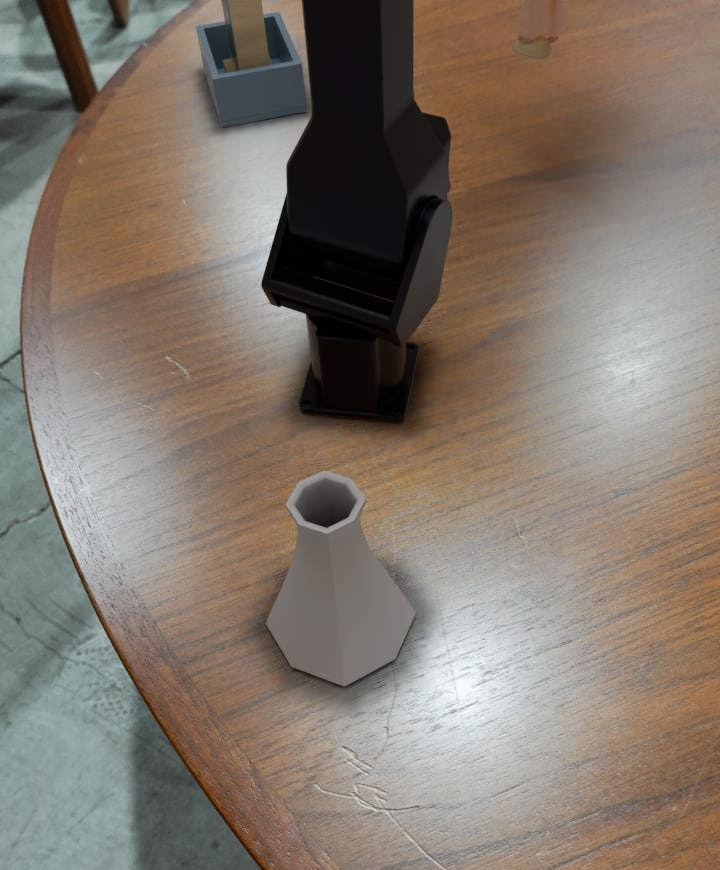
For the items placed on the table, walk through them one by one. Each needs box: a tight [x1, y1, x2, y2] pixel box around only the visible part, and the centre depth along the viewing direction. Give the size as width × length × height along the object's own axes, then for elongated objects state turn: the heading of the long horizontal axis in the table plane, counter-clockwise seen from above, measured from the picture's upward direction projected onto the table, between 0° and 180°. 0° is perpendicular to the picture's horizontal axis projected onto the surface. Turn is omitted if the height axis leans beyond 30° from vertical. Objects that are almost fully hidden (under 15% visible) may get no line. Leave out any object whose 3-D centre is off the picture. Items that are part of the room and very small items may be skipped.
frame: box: [220, 0, 273, 73], centre depth 71 cm, size 6×4×12 cm, turn 15°
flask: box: [265, 469, 417, 687], centre depth 42 cm, size 7×7×10 cm
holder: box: [195, 11, 308, 128], centre depth 74 cm, size 9×7×4 cm
